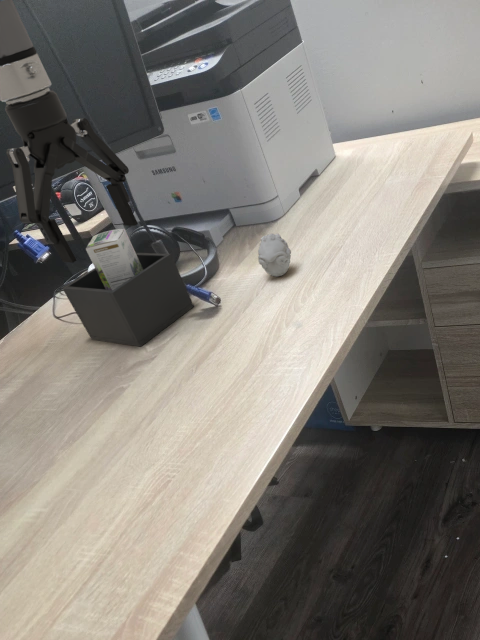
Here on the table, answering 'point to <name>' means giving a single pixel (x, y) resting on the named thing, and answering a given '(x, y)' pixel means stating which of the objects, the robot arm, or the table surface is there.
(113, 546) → the table surface
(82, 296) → the open box
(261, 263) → the grey decorated egg
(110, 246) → the syrup box
